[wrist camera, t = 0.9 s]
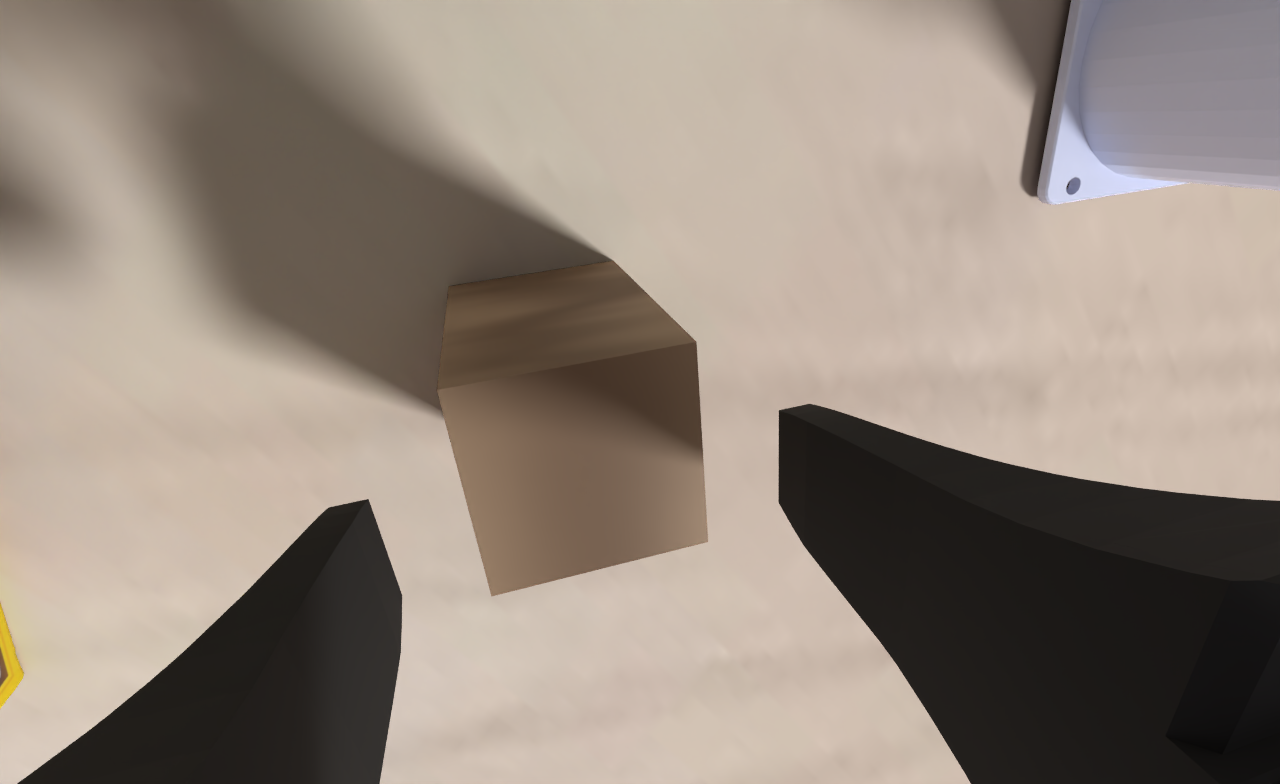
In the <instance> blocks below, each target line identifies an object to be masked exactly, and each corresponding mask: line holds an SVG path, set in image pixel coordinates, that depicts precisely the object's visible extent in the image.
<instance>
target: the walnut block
mask: <svg viewBox="0 0 1280 784" xmlns="http://www.w3.org/2000/svg"><path fill="white" fill-rule="evenodd" d="M437 393H438V397H439V400H440V404H441V408H442V412H443V415H444V419H445V423H446V427H447V430H448V434H449V438H450V442H451V445H452V449H453V453H454V457H455V460H456V464H457V468H458V472H459V476H460V479H461V483H462V487H463V491H464V494H465V498H466V502H467V506H468V509H469V513H470V517H471V521H472V524H473V528H474V532H475V536H476V539H477V543H478V547H479V551H480V554H481V558H482V562H483V566H484V569H485V573H486V577H487V581H488V584H489V588H490V592H491V596H495V595H499V594H503V593H507V592H511V591H515V590H519V589H523V588H527V587H531V586H535V585H539V584H542V583H546V582H550V581H554V580H558V579H562V578H566V577H570V576H574V575H578V574H582V573H586V572H590V571H594V570H598V569H602V568H606V567H610V566H614V565H618V564H622V563H626V562H630V561H634V560H638V559H642V558H646V557H650V556H654V555H658V554H662V553H666V552H669V551H673V550H677V549H681V548H685V547H689V546H693V545H697V544H701V543H705V542H708V533H707V516H706V499H705V482H704V465H703V448H702V431H701V413H700V396H699V379H698V362H697V345H696V341H695V340H694V339H693V338H692V337H691V336H690V335H689V334H688V333H687V332H686V331H685V330H684V329H683V328H682V327H681V326H680V325H679V324H678V323H677V322H676V321H675V320H673V319H672V318H671V317H670V316H669V315H668V314H667V313H666V312H665V311H664V310H663V309H662V308H661V307H660V306H659V305H658V304H657V303H656V302H655V301H654V300H653V299H652V298H651V297H650V296H649V295H648V294H647V293H646V292H645V291H644V290H643V289H642V288H641V287H640V286H639V285H638V284H637V283H636V282H635V281H634V280H633V279H632V278H631V277H630V276H629V275H628V274H626V273H625V272H624V271H623V270H622V269H621V268H620V267H619V266H618V265H617V264H616V263H615V262H614V261H608V262H601V263H595V264H589V265H582V266H576V267H569V268H563V269H556V270H550V271H543V272H537V273H531V274H524V275H518V276H511V277H505V278H498V279H492V280H485V281H479V282H473V283H466V284H460V285H453V286H449V289H448V298H447V306H446V315H445V323H444V332H443V341H442V349H441V358H440V366H439V375H438V384H437Z"/></svg>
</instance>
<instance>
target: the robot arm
mask: <svg viewBox="0 0 1280 784" xmlns="http://www.w3.org/2000/svg"><path fill="white" fill-rule="evenodd" d="M1068 182H1069V186H1068V189H1067V190H1066V187H1067V184H1068ZM1187 183H1197V184H1208V185H1220V186H1231V187H1242V188H1254V189H1265V190H1277V191H1280V0H1071V5H1070V10H1069V16H1068V21H1067V27H1066V33H1065V38H1064V44H1063V49H1062V55H1061V60H1060V66H1059V72H1058V77H1057V83H1056V88H1055V94H1054V99H1053V105H1052V111H1051V116H1050V122H1049V127H1048V133H1047V138H1046V144H1045V149H1044V155H1043V161H1042V166H1041V172H1040V177H1039V183H1038V188H1037V196H1038V198H1039V200H1040V201H1041V202H1042V203H1047V204H1062V203H1068V202H1074V201H1080V200H1087V199H1093V198H1099V197H1105V196H1112V195H1118V194H1124V193H1130V192H1137V191H1143V190H1149V189H1155V188H1162V187H1168V186H1174V185H1180V184H1187ZM779 504H780V506H781V507H782V509H783V511H784V513H785V514H786V516H787V518H788V520H789V522H790V523H791V525H792V527H793V528H794V530H795V532H796V533H797V535H798V537H799V538H800V540H801V542H802V543H803V545H804V546H805V548H806V549H807V550H808V552H809V553H810V554H811V555H812V557H813V558H814V559H815V561H816V562H817V563H818V564H819V566H820V567H821V568H822V570H823V571H824V572H825V573H826V575H827V576H828V577H829V578H830V580H831V581H832V582H833V583H834V585H835V586H836V587H837V588H838V590H839V591H840V592H841V593H842V595H843V596H844V597H845V598H846V600H847V601H848V602H849V603H850V605H851V606H852V607H853V608H854V610H855V611H856V612H857V613H858V615H859V616H860V617H861V618H862V620H863V621H864V622H865V623H866V625H867V626H868V627H869V628H870V630H871V631H872V632H873V633H874V635H875V636H876V637H877V638H878V640H879V641H880V642H881V644H882V645H883V646H884V648H885V649H886V650H887V652H888V653H889V654H890V656H891V657H892V659H893V660H894V661H895V663H896V664H897V666H898V667H899V669H900V670H901V672H902V673H903V675H904V676H905V678H906V679H907V681H908V683H909V684H910V686H911V687H912V689H913V690H914V692H915V693H916V695H917V696H918V698H919V700H920V701H921V703H922V704H923V706H924V707H925V709H926V710H927V712H928V713H929V715H930V717H931V718H932V720H933V722H934V723H935V725H936V726H937V728H938V730H939V731H940V733H941V735H942V736H943V738H944V740H945V741H946V743H947V744H948V746H949V748H950V749H951V751H952V753H953V754H954V756H955V758H956V759H957V761H958V762H959V764H960V766H961V767H962V769H963V771H964V772H965V774H966V776H967V777H968V779H969V781H970V783H971V784H1280V501H1271V500H1252V499H1238V498H1228V497H1217V496H1206V495H1196V494H1185V493H1176V492H1167V491H1159V490H1151V489H1143V488H1135V487H1129V486H1122V485H1116V484H1110V483H1103V482H1097V481H1090V480H1084V479H1078V478H1073V477H1067V476H1062V475H1057V474H1052V473H1047V472H1043V471H1038V470H1034V469H1029V468H1024V467H1020V466H1015V465H1011V464H1006V463H1002V462H998V461H994V460H990V459H987V458H983V457H979V456H976V455H972V454H969V453H965V452H962V451H958V450H955V449H951V448H948V447H944V446H941V445H938V444H935V443H931V442H928V441H925V440H922V439H919V438H916V437H913V436H910V435H907V434H904V433H901V432H898V431H895V430H892V429H889V428H886V427H883V426H880V425H877V424H874V423H871V422H868V421H865V420H862V419H859V418H856V417H853V416H850V415H847V414H844V413H841V412H838V411H835V410H832V409H828V408H825V407H821V406H817V405H812V404H807V405H802V406H797V407H793V408H788V409H783V410H779ZM401 629H402V594H401V591H400V588H399V585H398V582H397V580H396V577H395V574H394V571H393V568H392V565H391V562H390V560H389V557H388V554H387V551H386V548H385V545H384V542H383V539H382V537H381V534H380V531H379V528H378V525H377V522H376V519H375V517H374V514H373V511H372V508H371V505H370V502H369V499H367V500H362V501H357V502H353V503H348V504H343V505H339V506H334V507H330V508H328V509H327V510H325V511H324V512H323V513H322V514H321V515H320V516H319V517H318V518H317V519H316V520H315V521H314V522H313V523H312V524H311V525H310V526H309V527H308V528H307V529H306V530H305V531H304V532H303V533H302V534H301V535H300V536H299V538H298V539H297V540H296V541H295V542H294V543H293V544H292V545H291V546H290V547H289V548H288V549H287V550H286V551H285V552H284V553H283V554H282V555H281V557H280V558H279V559H278V560H277V561H276V562H275V563H274V564H273V565H272V566H271V567H270V568H269V569H268V570H267V571H266V572H265V573H264V574H263V575H262V576H261V577H260V578H259V579H258V580H257V581H256V582H255V583H254V584H253V586H252V587H251V588H250V589H249V590H248V591H247V592H246V593H245V594H244V595H243V596H242V597H241V598H240V599H239V600H238V601H236V602H235V603H234V604H233V605H232V606H231V607H230V608H229V609H228V610H227V611H226V612H225V613H224V614H223V615H222V616H221V617H220V618H219V619H218V620H217V621H216V622H214V623H213V624H212V625H211V626H210V627H209V628H208V629H207V630H206V631H205V632H204V633H203V634H202V635H201V636H200V637H199V638H198V639H197V640H196V641H195V642H194V643H192V644H191V645H190V646H189V647H188V648H187V649H186V650H185V651H184V652H183V653H182V654H181V655H179V656H178V657H177V658H176V659H175V660H174V661H173V662H172V663H171V664H169V665H168V666H167V667H166V668H165V669H164V670H162V671H161V672H160V673H159V674H158V675H157V676H155V677H154V678H153V679H152V680H151V681H150V682H148V683H147V684H146V685H145V686H144V687H142V688H141V689H140V690H139V691H138V692H136V693H135V694H134V695H133V696H131V697H130V698H129V699H128V700H127V701H125V702H124V703H123V704H122V705H121V706H119V707H118V708H117V709H116V710H114V711H113V712H112V713H111V714H110V715H108V716H107V717H106V718H105V719H103V720H102V721H101V722H99V723H98V724H97V725H96V726H94V727H93V728H92V729H91V730H89V731H88V732H87V733H85V734H84V735H83V736H81V737H80V738H78V739H77V740H76V741H74V742H73V743H72V744H70V745H69V746H68V747H66V748H65V749H64V750H62V751H61V752H60V753H58V754H57V755H56V756H54V757H53V758H51V759H50V760H49V761H47V762H46V763H45V764H43V765H42V766H41V767H39V768H38V769H37V770H35V771H34V772H33V773H31V774H30V775H29V776H27V777H26V778H24V779H23V780H22V781H20V782H19V783H18V784H379V783H380V777H381V771H382V765H383V758H384V752H385V746H386V740H387V734H388V728H389V722H390V716H391V710H392V704H393V698H394V692H395V686H396V679H397V673H398V667H399V660H400V653H401Z"/></svg>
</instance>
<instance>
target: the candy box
mask: <svg viewBox="0 0 1280 784" xmlns="http://www.w3.org/2000/svg"><path fill="white" fill-rule="evenodd" d="M23 676H24V672H23V670H22V668H21V666H20V664H19V661H18V659H17V656H16V654H15V647H14V645H13V642H12V638H11V635H10V632H9V629H8V626H7V623H6V620H5V616H4V613H3V610H2V607H1V603H0V708H1V707H2V706H3V705H4V703H5V702H6V700H7V699H8V698H9V697H10V695H11V694H12V693H13V692H14V690H15V689H16V687H17V686H18V684H19V683H20V681H21V680H22V679H23Z"/></svg>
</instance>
